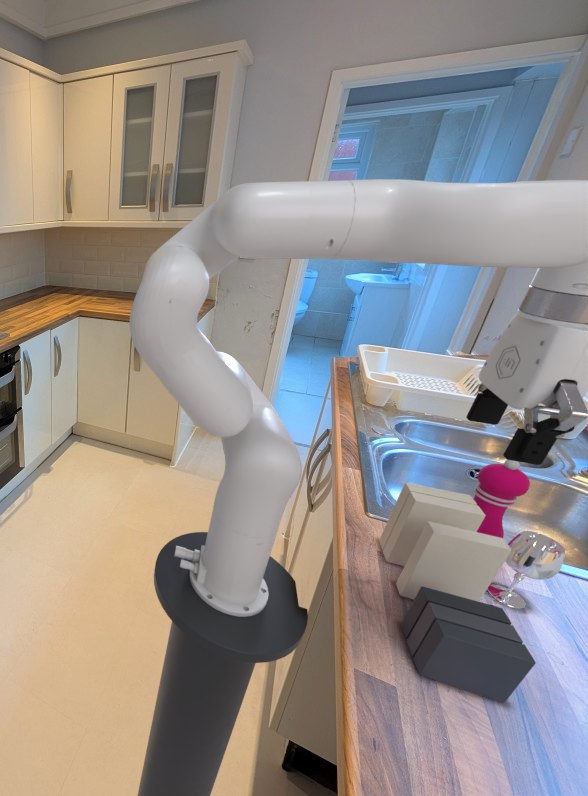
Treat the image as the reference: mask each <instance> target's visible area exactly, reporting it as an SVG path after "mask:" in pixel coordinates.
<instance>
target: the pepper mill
mask: <svg viewBox="0 0 588 796" xmlns="http://www.w3.org/2000/svg"><path fill="white" fill-rule="evenodd" d="M520 467H521V464H520V462H518V461H512V460H507V459H506V460H505V461H504V463H490V464H486V465H485V466H483V467H482V468H481V469H480V470H479V471H478V474H477V481H478V482H479V483H476V485H475V488H474V489H473V493H474V497H472V498H473V499H474V501H475V502H476V503H477V506H479V507H480V509H481V510H482V511H483V513H484V514H485V515H486V516H485V518H484V520H483V521H482V523H481V525H480V526H479V528H478V530H477V532H478V533H482V534H487V535H491V536H495V537H500V538H503V539H504V535H505V534H504V533H505V532H504V531H505V530H504V526H503V518H504V515H505V513H506V511H507V510H508V508H510V507H511V508H512V507H513V506H514V505H515V502H517V501H518V497H521V496H524V495H525V494H527V492H528V491H529V490H530V487H531V486H530V485H531V481H530V478H529V477H528V476H527V474H526V473H524V472H523V471H522V470H520Z"/></svg>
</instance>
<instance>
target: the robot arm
mask: <svg viewBox="0 0 588 796" xmlns="http://www.w3.org/2000/svg"><path fill="white" fill-rule="evenodd" d="M238 258H246V259H247V258H248V259H268V260H269V259H270V260H271V259H273V260H274V259H275V260H339V261H340V260H341V261H342V260H344V261H366V262H367V261H368V262H376V263H392V264H397V263H398V264H427V265H443V266H458V267H459V266H460V267H476V268H478V267H480V268H515V269H516V268H517V269H518V268H522V269H537V270H536V272H535V274H534V276H533V278H532V280H531V282H530V285H529V286H528V288H527V290H526V292H525V294H524V296H523V298H522V301H521V302H520V303H519V306H518V308H517V311H516V313H515V314H514V315H513V316H512V317H511V319H510V321H509V322H508V323H507V324H506V326H505V327H504V329H503V330H502V331H501V333H500V335H499V337H498V338H497V340H496V341H495V344H494V345H493V347H492V348H491V351H490V352H489V354H488V356H487V357H486V360H485V362H484V363H483V366H482V368H481V369H480V371H479V373H478V379H479V381H480V382H481V383H480V384H479V385H478V388H477V391H478V393H476V396H475V398H474V400H473V402H472V404H471V406H470V408H469V410H468V412H467V415H466V417H465V418H466V419H467V420H468V421H469V422H474V423H480V424H487V425H493V426H495V425H499V424H500V422H501V420H502V418H503V416H504V414H505V413H506V411H507V408H508V407H511V408H513V409H517V410H522V409H523V428H522V427H518V428H517V429H516V431H515V432H514V434H513V436H512V438H511V440H510V441H509V443H508V444H507V447H506V449H505V451H504V452H503V457H504V458H505V459H506V460H512V461H518V462H519V463H523V464H528V465H529V464H530V465H534V466H539V465H542V464H543V463H544V461H545V459H546V458H547V456H548V455H549V453H550V451H551V449H552V448H553V447H554V445H555V444H556V442H557V440H558V439H562V438H564V436H565V435H566V434H568V433H571V432H573V431H574V430H575V428H576V427H577V426H578V425H580V424H581V423H582V422H584V421H585V420H587V419H588V408H587V406H586V404H585V402H584V400H583V399H584V397H585V396H586V394H587V392H588V179H555V180H554V179H549V180H548V179H545V180H519V181H511V182H510V181H509V182H443V181H427V180H417V179H403V178H402V179H401V178H399V179H395V178H394V179H393V178H392V179H391V178H389V179H388V178H383V179H382V178H373V179H343V180H340V179H339V180H303V181H302V180H301V181H299V180H298V181H261V182H244V183H241V184H237V185H235V186H233V187H231V188H230V189H227V190H226V191H225V192H224V193H222V194H221V195H220V196H219V197H217V199H216V200H214V201H213V202H212V203H211V204H209V206H207V207H205V209H203V210H202V211H201V213H199V214H197V216H195V217H194V218H193V219H192V220H191V221H190V222H188V223H187V224H185V226H184V227H182V228H181V229H180V230H179V231H178V232H176V234H174V235H173V236H171V237H170V238H169V239H168V240H166V242H164V243H163V244H162V245H161V246H160V247H158V248H157V249H156V250H155V251H154V252H153V253H152V254H151V256H150V257H149V258H148V259H147V261H146V264H145V266H144V270H143V274H142V276H141V277H142V278H141V281H140V284H139V287H138V289H137V291H136V294H135V296H134V299H133V301H132V304H131V309H130V314H129V332H130V337H131V340H132V343H133V345H134V347H135V350H136V351H137V353H138V354H139V356H140V357H141V359H142V360H143V361H144V363H145V364H146V366H148V367H149V369H151V371H152V372H153V374H154V375H155V376H156V377H157V378H158V380H159V381H160V383H161V384H162V386H163V387H164V388H165V389H166V390H167V392H168V393H169V395H171V397H173V399H174V400H175V401H176V402H177V404H178V405H179V407H181V409H182V410H183V411H184V413H185V414H186V416H187V417H188V418H189V420H190V421H191V422H192V423H193V424H194V425H195V426H196V427H197V428H198V429H200V430H201V431H202V432H204V433H206V434H208V435H210V436H214V437H217V438H220V439H221V444H222V450H223V454H224V472H223V475H222V478H221V480H220V482H219V484H218V487H217V489H216V494H215V497H214V501H213V506H212V512H211V515H210V521H209V525H208V529H207V530H208V531H207V532H208V534H207V539H206V543H205V546H203V545H202V546H201V551H199V550H196V549H195V551H191V550H188V549H186V548H183V547H180V546H177V545H176V550H175V557H179V558H182V559H187V560H191V561H193V562H192V563H191V562H189V561H185V560H182V559H181V564H180V567H181V568H184V569H189V570H190V573H189V576H190V581H191V584H192V586H193V588H194V590H195V591H196V593H197V594H198V595H199V596H200V597H201V599H202V600H204V601H205V602H206V603H207V604H208V605H210V606H211V607H213V608H214V609H216V610H218V611H221V612H223V613H226V614H229V615H232V616H238V617H247V616H253V615H255V614H258V613H259V612H261V611H262V610H263V609H264V607H265V606H266V603H267V601H268V595H269V593H268V587H267V585H266V582H265V580H264V579H263V576H264V573H265V570H266V567H267V563H268V560H269V557H270V556H271V553H272V550H273V548H274V544H275V541H276V538H277V534H278V531H279V527H280V524H281V521H282V519H283V515H284V512H285V510H286V508H287V505H288V502H290V499H291V498H292V496H293V494H294V493H295V491H296V489H297V488H298V486H299V484H300V481H301V478H302V474H303V473H302V472H303V466H302V460H301V455H300V452H299V450H298V448H297V446H296V444H295V441H294V440H293V438H292V436H291V434H290V432H289V431H288V429H287V428H286V427H287V426H286V425H285V423H284V422H283V419H282V418H281V416H280V414H279V413H278V411H277V410H276V408H275V406H273V405H272V403H271V402H270V400H269V399H268V398H267V397H266V396H265V393H263V391H262V390H261V389H260V388H259V387H258V385H257V384H256V382H254V381H255V380H253V379H252V378H251V376H250V375H249V374H248V373H247V371H246V370H245V369H244V367H243V366H242V365H241V364H240V362H238V360H236V358H234V357H233V356H231V355H229V354H227V353H225V352H222V351H218V350H216V349H215V347H214V346H213V345H212V342H210V340H209V339H208V338H207V337H206V335H205V334H203V332H202V331H201V329H200V328H199V324H198V317H199V313H200V311H201V309H202V307H203V305H204V304H205V301H206V299H207V297H208V294H209V290H210V280H211V279H212V278H214V277H215V276H216V275H218V274H219V273H220V272H221V271H223V270H225V268H227V267H228V266H229V265H231V264H232V263H234V262H235V261H236V260H237V259H238ZM539 404H541V405H539ZM539 415H546V416H550V417H548V418H545V419H543V420H540V421H539Z"/></svg>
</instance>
